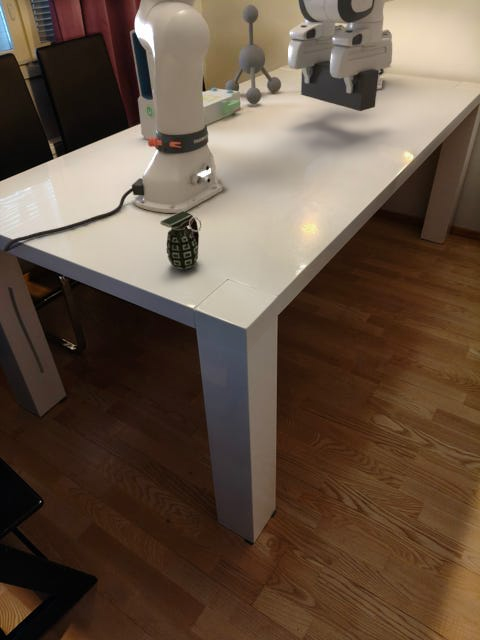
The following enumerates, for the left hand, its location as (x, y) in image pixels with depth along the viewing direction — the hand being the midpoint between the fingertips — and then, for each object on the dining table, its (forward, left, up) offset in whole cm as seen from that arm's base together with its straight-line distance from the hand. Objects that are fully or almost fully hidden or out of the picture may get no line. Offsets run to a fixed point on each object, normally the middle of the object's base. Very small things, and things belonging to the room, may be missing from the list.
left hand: (359, 90), depth 136 cm
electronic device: (-18, +56, -13) cm, 60 cm away
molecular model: (+37, +48, -13) cm, 62 cm away
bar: (+4, +8, -4) cm, 10 cm away
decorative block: (+8, +55, -13) cm, 57 cm away
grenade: (-81, +10, -13) cm, 83 cm away
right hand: (+9, +15, 0) cm, 18 cm away
